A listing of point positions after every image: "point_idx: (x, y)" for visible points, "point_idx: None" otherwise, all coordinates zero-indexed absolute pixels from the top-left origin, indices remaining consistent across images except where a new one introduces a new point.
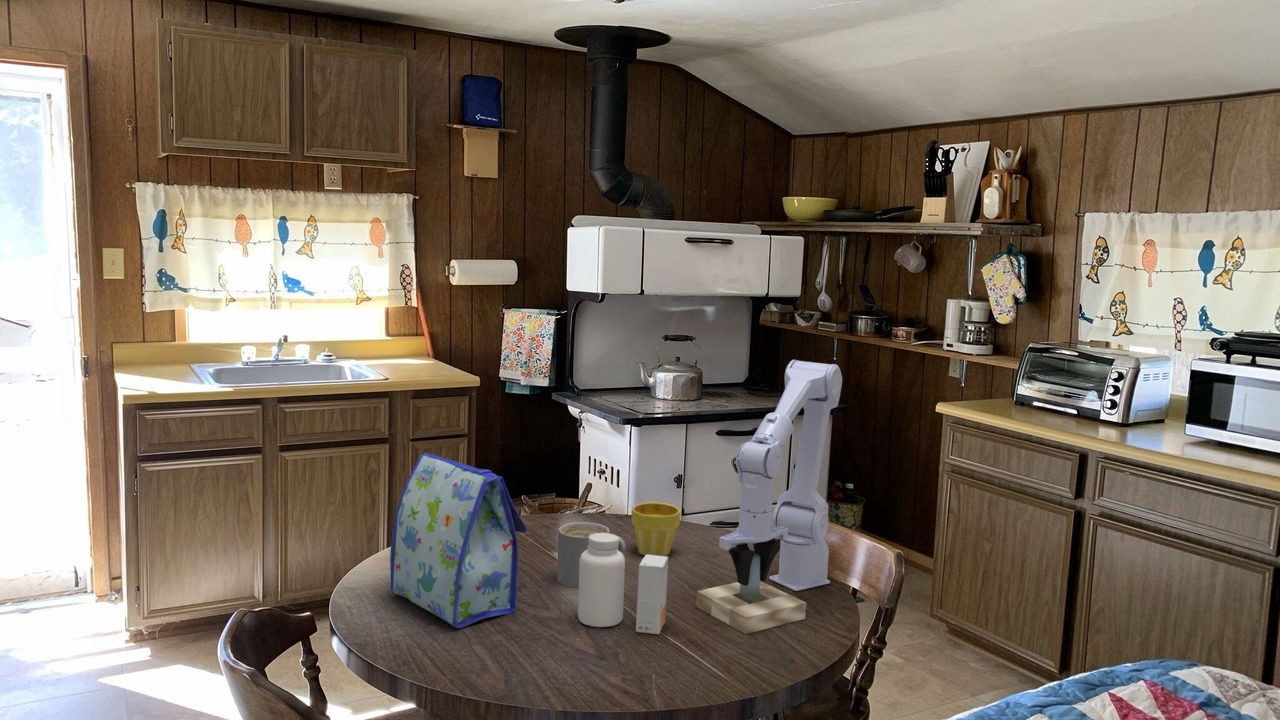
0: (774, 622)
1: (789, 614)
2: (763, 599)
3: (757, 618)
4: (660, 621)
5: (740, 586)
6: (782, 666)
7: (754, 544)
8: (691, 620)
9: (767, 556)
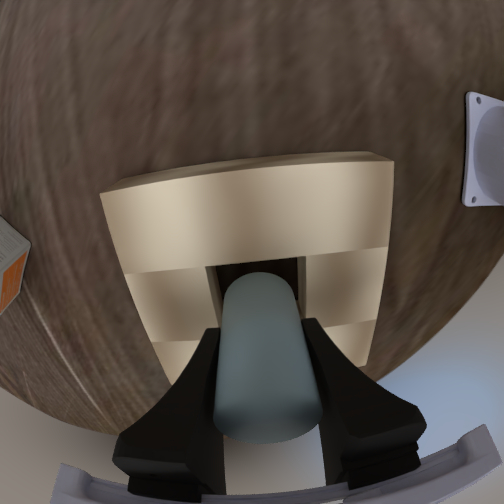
0: None
1: None
2: (304, 297)
3: None
4: (8, 303)
5: (223, 312)
6: None
7: (340, 430)
8: (83, 256)
9: (323, 443)
